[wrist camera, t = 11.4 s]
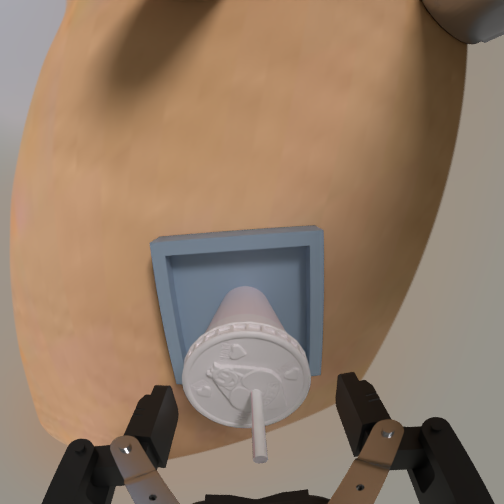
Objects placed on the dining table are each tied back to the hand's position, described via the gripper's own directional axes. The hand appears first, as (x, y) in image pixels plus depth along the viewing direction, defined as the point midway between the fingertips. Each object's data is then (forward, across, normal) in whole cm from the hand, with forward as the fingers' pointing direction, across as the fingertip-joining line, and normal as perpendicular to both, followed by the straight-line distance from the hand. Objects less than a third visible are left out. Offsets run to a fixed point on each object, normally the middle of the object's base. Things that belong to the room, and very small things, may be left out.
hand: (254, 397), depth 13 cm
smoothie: (+10, 0, 0) cm, 10 cm away
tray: (+11, +1, 0) cm, 11 cm away
